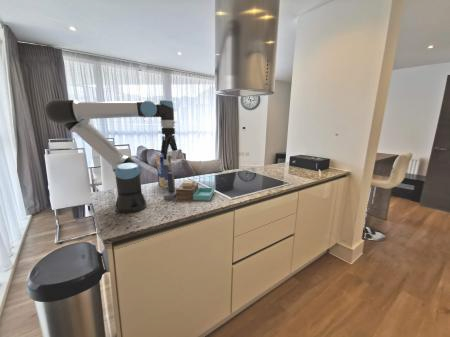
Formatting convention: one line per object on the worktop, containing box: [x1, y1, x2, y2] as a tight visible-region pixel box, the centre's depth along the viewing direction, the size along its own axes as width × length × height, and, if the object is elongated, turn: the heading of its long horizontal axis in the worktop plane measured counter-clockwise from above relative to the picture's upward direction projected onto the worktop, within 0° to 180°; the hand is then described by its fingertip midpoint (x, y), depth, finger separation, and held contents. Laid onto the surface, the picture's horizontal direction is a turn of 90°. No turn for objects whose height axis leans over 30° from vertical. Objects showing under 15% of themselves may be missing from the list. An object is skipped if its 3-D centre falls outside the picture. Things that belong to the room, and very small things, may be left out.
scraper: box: [163, 172, 178, 201], centre depth 131 cm, size 16×6×14 cm, turn 174°
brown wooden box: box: [176, 182, 199, 201], centre depth 130 cm, size 14×10×6 cm
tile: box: [181, 179, 195, 188], centre depth 130 cm, size 6×6×3 cm
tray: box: [193, 187, 215, 201], centre depth 130 cm, size 15×10×3 cm, turn 174°
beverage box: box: [155, 154, 172, 189], centre depth 151 cm, size 7×11×22 cm, turn 34°
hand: (170, 162), depth 128 cm, fingers open, 13 cm apart
